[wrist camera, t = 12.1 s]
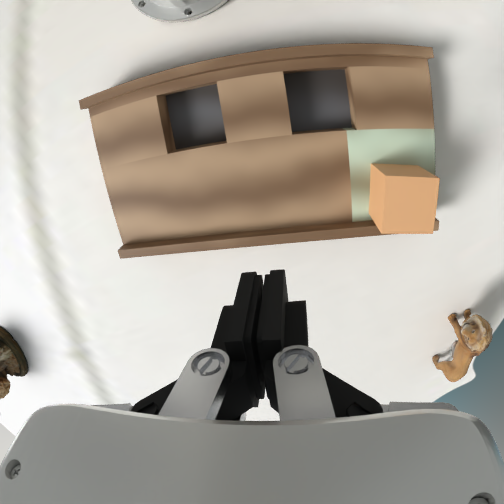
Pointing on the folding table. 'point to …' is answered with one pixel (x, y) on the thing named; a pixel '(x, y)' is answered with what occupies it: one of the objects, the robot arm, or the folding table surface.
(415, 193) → the block
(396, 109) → the box
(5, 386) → the brown lumpy sculpture
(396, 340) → the folding table surface
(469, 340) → the lion figurine
